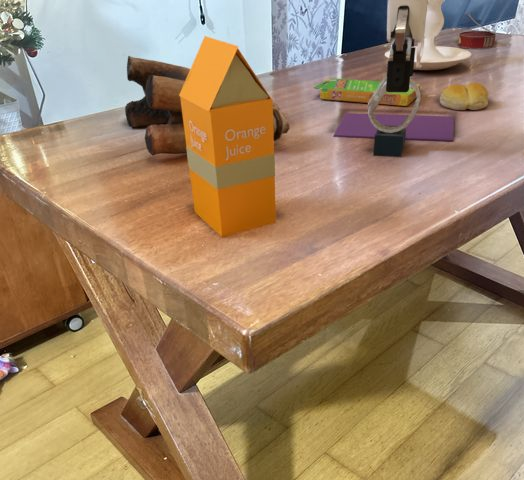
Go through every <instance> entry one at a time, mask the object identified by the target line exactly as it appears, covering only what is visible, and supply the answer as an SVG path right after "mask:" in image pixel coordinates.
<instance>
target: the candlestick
mask: <svg viewBox="0 0 524 480" xmlns="http://www.w3.org/2000/svg"><path fill="white" fill-rule="evenodd" d="M445 1H446V0H428V5H427V14H426V24H425V33H424V37H423V40H422V41H421V42H420V43H418V42H417V45H414V47H416V48H415V58H414V69H413V71H414V70H415V71H438V70H444V69H449V68H452V67H454V66H456V65H458V64H460V63H462V61H464V60H466V59H469V58H470V57H471V56H472V53H471V51H469V50H467V49H465V48H460V47H453V46H443V45H435V37H437V36H438V35H439V34H440V33H441V31H442V29H443V28H444V24H445V16H444V14H443V11H442V5H443V3H444V2H445ZM389 56H390V50H387V51H386V52H385V53H384V57H386V58H387V59H389Z"/></svg>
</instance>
